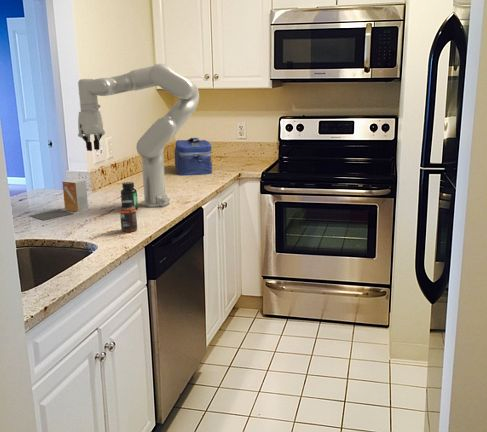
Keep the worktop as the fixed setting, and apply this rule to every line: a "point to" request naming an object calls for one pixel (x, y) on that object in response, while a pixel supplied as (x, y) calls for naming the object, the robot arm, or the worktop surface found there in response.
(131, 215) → the supplement bottle
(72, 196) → the small box
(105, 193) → the worktop surface
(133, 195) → the supplement bottle
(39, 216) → the mat
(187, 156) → the lunch bag
